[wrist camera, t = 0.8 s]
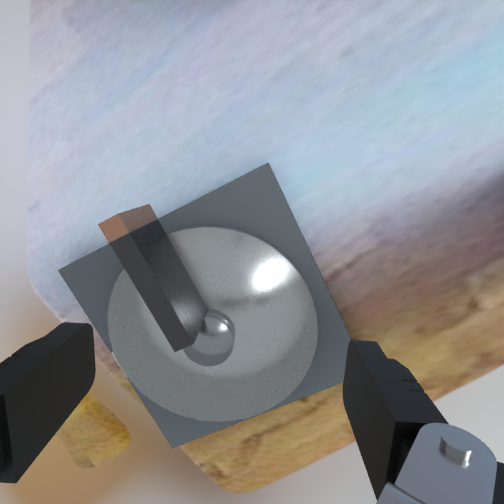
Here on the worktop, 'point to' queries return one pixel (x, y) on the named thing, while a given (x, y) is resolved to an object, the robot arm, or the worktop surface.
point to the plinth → (251, 220)
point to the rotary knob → (207, 317)
